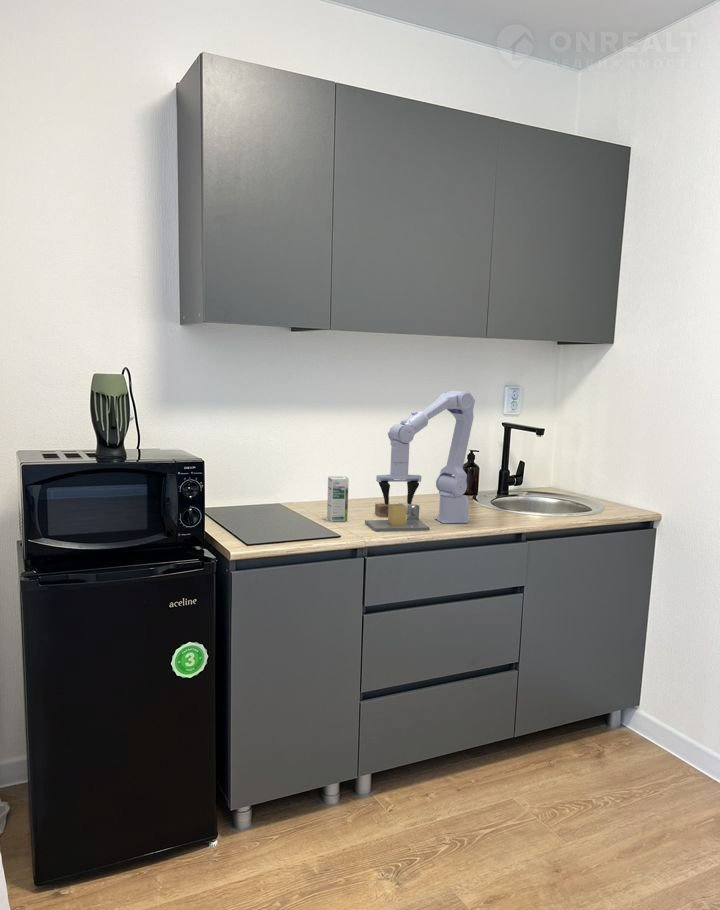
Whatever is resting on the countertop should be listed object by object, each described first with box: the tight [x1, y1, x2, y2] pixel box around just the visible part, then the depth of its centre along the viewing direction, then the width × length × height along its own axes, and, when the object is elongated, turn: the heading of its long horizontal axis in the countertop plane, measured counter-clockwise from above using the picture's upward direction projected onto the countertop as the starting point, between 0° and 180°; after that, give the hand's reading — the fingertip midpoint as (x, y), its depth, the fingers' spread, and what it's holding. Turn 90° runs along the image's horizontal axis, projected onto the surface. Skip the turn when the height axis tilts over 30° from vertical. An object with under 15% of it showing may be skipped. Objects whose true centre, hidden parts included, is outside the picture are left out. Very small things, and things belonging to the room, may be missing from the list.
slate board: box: [364, 519, 431, 533], centre depth 225 cm, size 18×12×1 cm, turn 105°
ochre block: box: [387, 503, 407, 525], centre depth 225 cm, size 4×4×6 cm
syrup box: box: [326, 475, 349, 522], centre depth 232 cm, size 6×6×14 cm
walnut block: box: [374, 502, 390, 518], centre depth 242 cm, size 5×5×4 cm
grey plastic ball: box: [397, 502, 409, 515], centre depth 244 cm, size 4×4×4 cm
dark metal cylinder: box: [406, 503, 420, 521], centre depth 237 cm, size 4×4×5 cm
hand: (397, 503), depth 225 cm, fingers open, 7 cm apart
